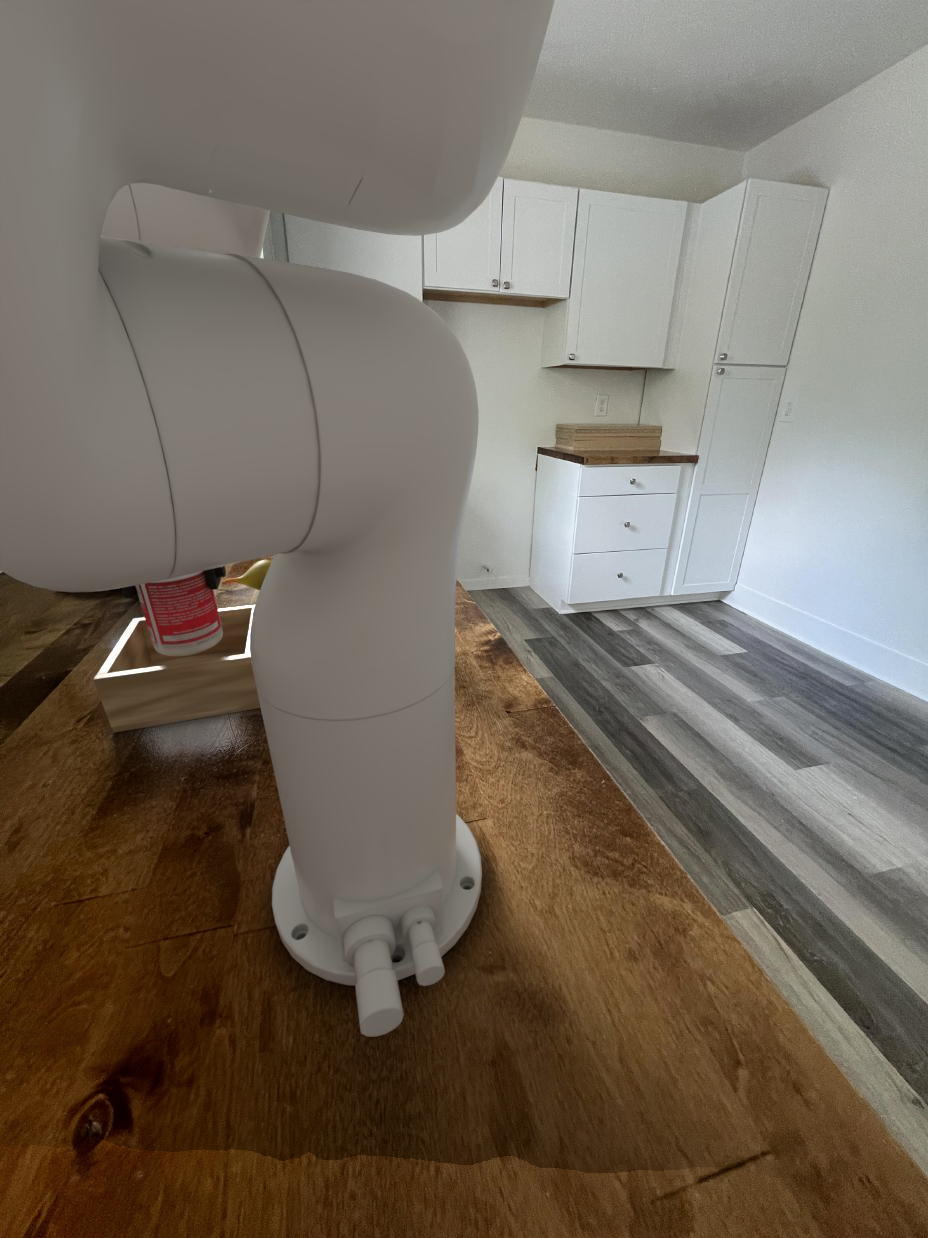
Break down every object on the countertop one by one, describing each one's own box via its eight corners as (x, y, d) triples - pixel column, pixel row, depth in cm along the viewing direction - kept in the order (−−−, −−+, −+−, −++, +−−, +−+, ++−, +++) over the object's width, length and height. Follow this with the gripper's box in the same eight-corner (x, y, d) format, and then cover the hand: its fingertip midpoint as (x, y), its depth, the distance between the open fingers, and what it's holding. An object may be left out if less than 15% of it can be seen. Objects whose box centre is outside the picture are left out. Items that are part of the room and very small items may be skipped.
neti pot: (223, 611, 68) (213, 566, 65) (325, 584, 77) (319, 543, 74) (235, 622, 65) (224, 574, 62) (338, 592, 74) (333, 550, 71)
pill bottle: (237, 636, 51) (215, 529, 46) (186, 664, 46) (154, 547, 41) (193, 625, 53) (167, 522, 49) (139, 651, 48) (104, 539, 43)
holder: (263, 707, 48) (253, 656, 45) (113, 733, 44) (92, 679, 42) (268, 647, 59) (259, 603, 56) (147, 664, 55) (132, 618, 53)
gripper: (-43, 375, 34) (51, 616, 41) (234, 376, 39) (272, 592, 46) (10, 376, 40) (82, 584, 48) (241, 377, 45) (273, 566, 53)
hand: (175, 587), depth 47 cm, fingers closed on pill bottle, 6 cm apart
